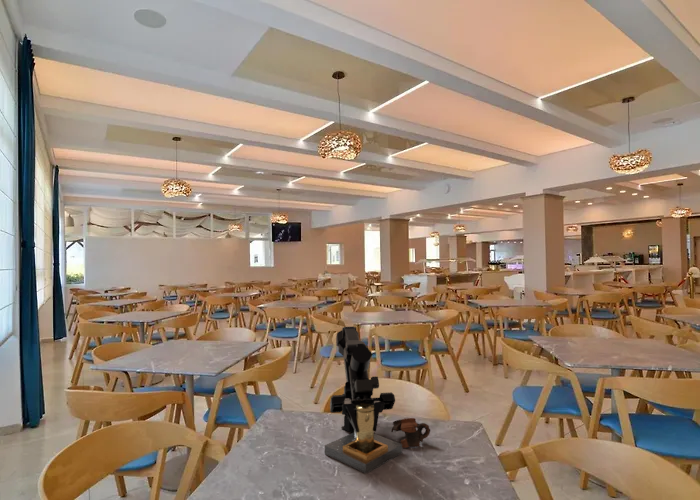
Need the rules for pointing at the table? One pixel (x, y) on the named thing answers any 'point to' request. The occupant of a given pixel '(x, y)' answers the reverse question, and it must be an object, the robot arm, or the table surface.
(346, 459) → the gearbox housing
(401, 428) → the pottery mug
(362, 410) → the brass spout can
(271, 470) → the table surface
